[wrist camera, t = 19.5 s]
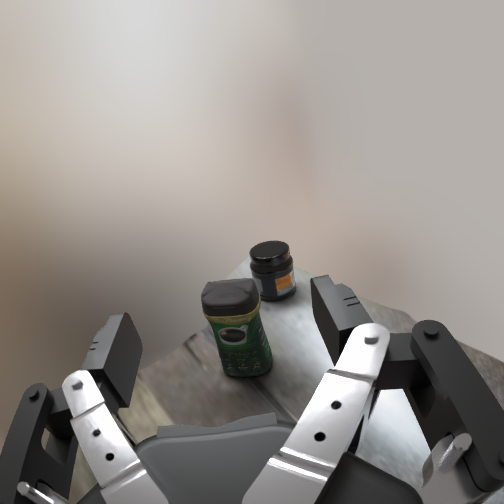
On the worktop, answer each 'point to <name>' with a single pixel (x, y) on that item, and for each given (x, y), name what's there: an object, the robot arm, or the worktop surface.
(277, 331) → the worktop surface
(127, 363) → the robot arm
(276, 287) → the supplement container
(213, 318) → the coffee jar
